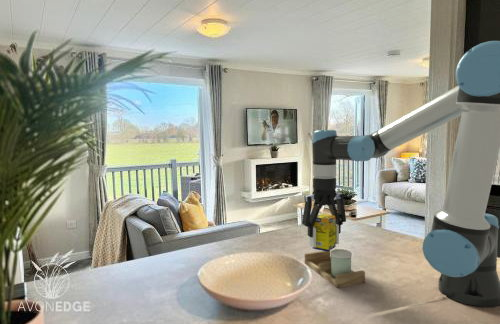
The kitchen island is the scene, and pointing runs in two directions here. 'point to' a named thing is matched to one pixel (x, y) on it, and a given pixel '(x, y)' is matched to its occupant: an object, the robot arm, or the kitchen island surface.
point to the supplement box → (325, 232)
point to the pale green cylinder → (340, 262)
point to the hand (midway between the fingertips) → (324, 244)
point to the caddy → (323, 266)
